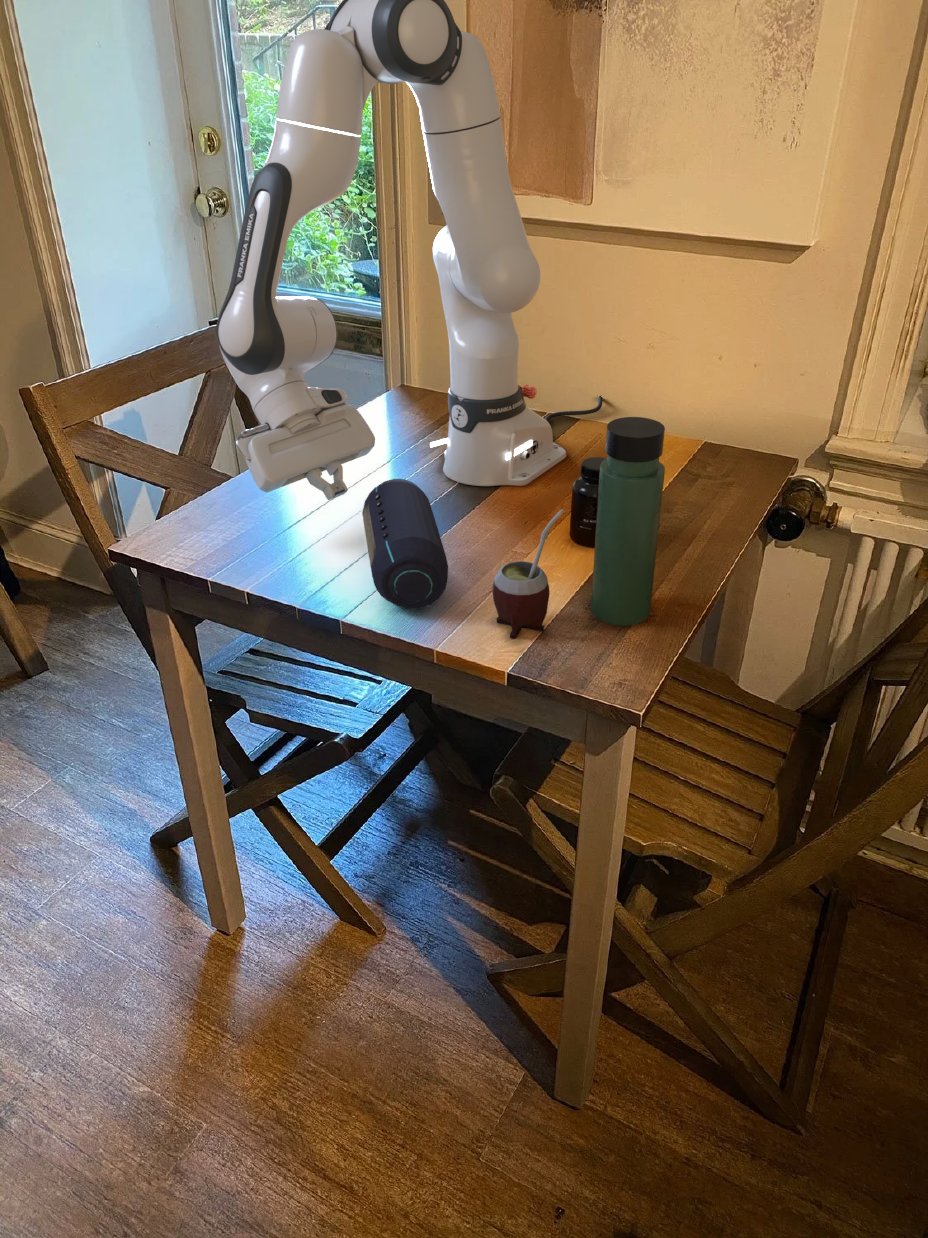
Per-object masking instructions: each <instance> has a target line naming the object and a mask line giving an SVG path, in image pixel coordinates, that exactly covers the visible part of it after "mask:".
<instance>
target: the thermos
mask: <svg viewBox="0 0 928 1238" xmlns="http://www.w3.org/2000/svg"><path fill="white" fill-rule="evenodd" d="M665 431H666V428H665V425H664V424H663V423H662V422H660V421H659V420H656V419H652V418H648V417H642V416H625V417H619V418H615V419H613V420H611V421H609V422H607V425H606V436H605V449H604V450H605V453H606V455H607V457H606V458H607V459H606V460H604V461H603V462H602V463H601V465H600V475H599V490H598V505H597V521H596V536H595V548H594V550H593V551H594V552H593V555H594V556H593V566H592V567H593V568H592V571H593V572H592V584H591V600H590V612H591V613H592V615H593V616H594V617H595V618H596V619H597V620H599V621H601V622H603V623H606V624H609V625H612V626H621V627H622V626H623V627H625V626H627V627H629V626H634V625H638V624H640V623H643V622H645V621H646V620H647V619H648V618H649V616H650V614H651V605H652V596H653V587H654V578H655V569H656V560H657V559H656V558H657V549H658V540H659V530H660V520H661V512H662V511H661V510H662V502H663V501H662V500H663V493H664V484H665V483H664V482H665V473H666V468H665V465H664V464H663V463H662V462H661V461H660V457H662V455H663V450H664V443H665V441H664V440H665Z"/></svg>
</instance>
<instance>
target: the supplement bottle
mask: <svg viewBox="0 0 928 1238" xmlns="http://www.w3.org/2000/svg"><path fill="white" fill-rule="evenodd" d="M606 459H607V457H601V456H591V457H587V458H584V459H583V460H582V461H581V464H580V471H579V475H580V476H579V477H577V478H576V479H575V480H574V482H573V483H572V488H571V502H570V503H571V504H570V515H569V516H570V517H569V538H570V540H571V541H572V542H573V543H574V544H576V545H578V546H579V547H583V548H587V549H595V536H596V521H597V505H598V490H599V475H600V465H601V463H602V462H603V461H604V460H606Z"/></svg>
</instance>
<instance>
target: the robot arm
mask: <svg viewBox="0 0 928 1238" xmlns="http://www.w3.org/2000/svg"><path fill="white" fill-rule="evenodd" d="M489 62H490V61H489V59H488V56H487V53H486V49H485V47H484V44H483V43H482V41H481V40H480V39H479V38H478V37H477V36H476V35H474V34H472V33H470V32H467V31H463V30H461V29H460V28H459V26H458V25H457V23H456V22H455V18H454V16H453V14H452V11H451V9H450V8H449V5H448V3H447V2H446V1H445V0H342V1H341V2H340V3H339V4H338V6H336V9H335V10H334V12H333V14H332V16H331V18H330V20H329V21H328V23H327V24H326V26H325V27H324V29H322V28H315V29H310V30H306V31H304V32H301V33H300V34H298V35H296V37H295V38H294V39H293V41H292V42H291V44H290V47H289V49H288V52H287V56H286V60H285V64H284V68H283V72H282V76H281V82H280V87H279V91H278V99H277V107H276V114H275V119H276V120H275V124H274V133H273V138H272V141H271V145H270V149H269V152H268V155H267V158H266V160H265V163H264V164H263V166H262V168H261V169H259V171H258V172H257V173H256V174H255V176H254V179H253V181H252V183H251V186H250V190H249V192H248V197H247V199H246V205H245V210H244V214H243V219H242V223H241V228H240V232H239V233H240V234H239V239H238V243H237V249H236V255H235V259H234V264H233V267H232V268H233V269H232V274H231V279H230V283H229V287H228V289H227V294H226V295H225V299H224V301H223V303H222V306H221V309H220V311H219V314H218V318H217V322H216V338H217V342H218V347H219V350H220V353H221V356H222V358H223V361H224V363H225V365H226V367H227V369H228V370H229V372H230V374H231V377H233V380H234V382H235V383H236V385H237V386H238V388H239V390H240V391H241V392H243V393H244V394H245V396H247V399H248V400H249V402H250V406H251V408H252V411H253V414H254V415H255V417H256V418H257V420H258V422H259V424H260V425H257V426H255V427H252V428H249V429H244V430H242V431H240V432H239V435H238V436H237V437H236V440H235V446H236V449H237V450H238V452H239V454H240V455H241V457H242V458H243V459H244V460H245V463H246V465H247V468H248V471H249V473H250V475H251V478H252V480H253V481H254V483H255V485H256V487H257V488H258V489H259V490H260V491H263V492H264V493H271V492H272V491H275V490H278V489H280V488H284V487H286V486H288V485H291V484H293V483H296V482H298V481H299V482H300V481H301V480H304V479H307V481H308V483H309V485H311V486H313V487H314V488H315V489H317V490H319V491H321V492H322V493H323V495H324V497H325V498H326V500H327V501H331V500H333V499H336V498H338V497H340V496H344V495H345V494H346V493H347V492H348V490H349V489H348V487H347V485H346V483H345V481H344V470H343V469H344V467H343V465H344V464H346V463H349V462H352V461H354V460H356V459H357V460H358V459H359V458H362V457H364V456H367V455H368V454H369V453H370V452H371V451H372V450H373V448H374V447H375V444H376V437H375V435H374V433H373V431H372V430H371V428H370V426H369V424H368V423H367V421H366V420H365V418H364V417H363V416H362V414H361V412H359V411H358V409H357V408H356V407H354V406H353V405H351V404H348V403H347V402H348V400H349V397H348V395H347V393H346V392H345V390H343V389H341V388H325V387H324V388H322V387H314V386H308V384H307V382H306V381H305V379H304V375H305V374H306V372H309V371H312V370H313V369H315V368H317V367H318V366H319V365H321V364H322V363H324V362H325V361H326V360H328V359H329V358H330V357H331V356H332V355H333V353H334V351H335V348H336V346H337V343H338V336H339V335H338V334H339V333H338V326H337V325H338V324H337V321H336V319H335V316H334V313H333V312H332V310H331V309H330V307H329V306H328V305H327V304H326V303H325V302H324V301H323V300H321V299H320V298H316V297H313V296H311V297H310V296H302V295H301V296H299V295H297V296H295V295H287V296H277V293H278V288H279V284H280V283H279V282H280V277H281V273H282V268H283V263H284V258H285V254H286V249H287V246H288V245H287V244H288V241H289V238H290V235H291V234H292V232H293V229H294V228H295V227H296V225H298V223H299V222H300V221H301V220H302V219H303V218H304V217H306V216H307V215H309V214H310V213H312V212H314V211H316V210H317V209H319V208H321V207H323V206H326V205H328V204H331V203H333V202H335V200H337V199H338V198H340V197H341V196H342V195H343V194H344V193H345V192H346V191H347V190H348V189H349V188H350V186H351V184H352V182H353V179H354V176H355V174H356V170H357V166H358V163H359V156H360V148H361V139H362V138H361V137H362V129H363V119H364V117H363V116H364V110H365V107H366V103H367V100H368V98H369V95H370V94H371V91H373V89H374V87H375V86H376V85H377V84H382V85H398V84H402V83H405V84H407V86H409V88H410V90H411V91H412V93H413V95H414V97H415V100H416V103H417V106H418V108H419V116H420V122H421V130H422V135H423V140H424V146H425V152H426V157H427V162H428V163H427V164H428V168H429V174H430V179H431V184H432V190H433V193H434V196H435V198H436V199H437V200H436V201H437V202H438V204H439V206H440V210H441V212H442V214H443V217H444V220H445V223H446V224H445V226H443V228H441V230H440V231H439V232H438V233H437V235H436V237H435V239H434V241H433V246H432V259H433V263H434V267H435V270H436V272H437V277H438V284H439V290H440V296H441V297H440V298H441V303H442V308H443V314H444V319H445V325H446V329H447V337H448V347H449V348H448V349H449V374H450V375H449V376H450V377H449V378H450V380H449V381H450V386H449V388H448V390H447V391H448V392H447V407H448V408H447V409H448V413H449V418H448V429H447V437H446V438H445V437H444V438H441V439H439V440H435V441H431V442H430V443H429V447H430V448H434V447H438V446H441V445H444V444H445V445H446V449H445V450H444V453H443V455H444V456H443V457H444V462H443V467H442V473H443V474H444V475H445V477H447V478H448V479H450V480H451V481H454V482H457V483H460V484H463V485H469V486H475V487H476V486H478V487H494V486H516V487H523V486H527V485H528V484H530V483H531V482H533V481H534V480H536V479H537V478H538V477H540V476H541V475H543V474H544V473H545V472H547V471H549V470H550V469H551V468H554V467H555V466H556V465H557V464H559V463H560V462H562V461H563V460H565V459H566V458H567V451H566V450H565V448H563V447H562V446H561V445H559V444H558V443H555V442H554V437H553V429H552V426H551V424H550V423H549V421H550V420H551V419H553V418H557V417H564V416H565V417H567V416H583V415H586V416H587V415H592V414H595V413H597V412H599V411H600V410H601V409H602V407H603V396H602V395H601V396H602V397H601V396H599V397H598V396H597V406H596V407H594V408H590V409H585V410H584V409H583V410H565V411H564V410H563V411H556V412H553V413H550V414H548V415H546V416H545V418H544V417H543V416H541V415H540V414H538V413H537V412H535V411H534V410H533V409H531V408H530V407H529V406H527V403H526V401H525V398H527V399H529V400H534V399H535V398H536V395H538V393H537V392H538V391H537V390H538V389H537V388H536V387H535V386H531V385H529V384H525V385H523V386H520V384H519V381H520V380H519V377H520V376H519V375H520V340H519V336H518V333H517V331H516V327H515V324H514V319H513V315H512V313H516V312H519V311H521V310H522V309H524V308H525V307H527V306H528V305H529V304H530V303H531V302H532V300H533V299H534V297H535V296H536V294H537V292H538V290H539V286H540V282H541V268H540V265H539V262H538V260H537V257H536V256H535V254H534V252H533V250H532V248H531V245H530V243H529V239H528V236H527V233H526V232H527V231H526V229H525V226H524V222H523V218H522V216H521V212H520V209H519V205H518V202H517V200H516V196H515V193H514V190H513V189H514V188H513V186H512V183H511V177H510V174H509V173H510V172H509V168H508V161H507V160H508V159H507V153H506V147H505V146H506V145H505V139H504V133H503V125H502V118H501V110H500V104H499V99H498V92H497V89H496V85H495V81H494V76H493V74H492V69H491V65H490V63H489ZM325 471H326V472H327V474H328V475H329V477H331V476H332V477H333V482H332V483H329V482H328V481H327V479H324V478H323V477H322V475H323V473H322V472H325Z"/></svg>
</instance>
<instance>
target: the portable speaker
mask: <svg viewBox="0 0 928 1238" xmlns="http://www.w3.org/2000/svg"><path fill="white" fill-rule="evenodd" d="M361 514H362V515H361V516H362V521H363V528H364V534H365V540H366V546H367V552H368V553H367V554H368V558H369V559H368V560H369V564H370V565H369V567H370V570H371V576H372V580H373V581H372V582H373V584H374V587H375V589H376V591H377V592H378V594H379V595H380V596H381V597H382V598H383V599H384V600H386V601H387V602H389V603H391V604H393V605H395V606H397V607H400V608H403V609H406V610H421V609H423V608H426V607H429V606H432V605H433V604H435V602H437V601H439V600H440V599H441V597H442V595H443V594H444V593H445V591H446V589H447V584H448V579H449V563H448V558H447V555H446V551H445V548H444V544H443V542H442V538H441V535H440V532H439V528H438V525H437V521H436V518H435V515H434V512H433V508H432V505H431V502H430V500H429V498H428V496H427V495H426V493H425V492H424V491H423V490H422V489H421V488H420V487H419V486H418V485H417V484H416V483H414V482H413V481H410V480H407V479H404V478H392V479H388V480H385V481H383V482H381V483H380V484H378V485H377V486H375V487H373V489H372V490H371V491H370V492H369V493H368V495H367V497H366V499H365V500H364V503H363V508H362V512H361Z"/></svg>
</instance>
